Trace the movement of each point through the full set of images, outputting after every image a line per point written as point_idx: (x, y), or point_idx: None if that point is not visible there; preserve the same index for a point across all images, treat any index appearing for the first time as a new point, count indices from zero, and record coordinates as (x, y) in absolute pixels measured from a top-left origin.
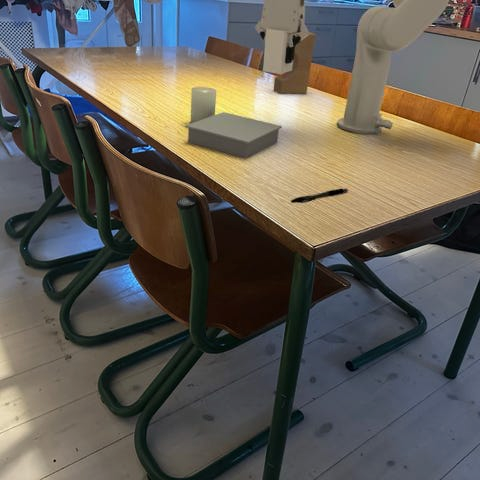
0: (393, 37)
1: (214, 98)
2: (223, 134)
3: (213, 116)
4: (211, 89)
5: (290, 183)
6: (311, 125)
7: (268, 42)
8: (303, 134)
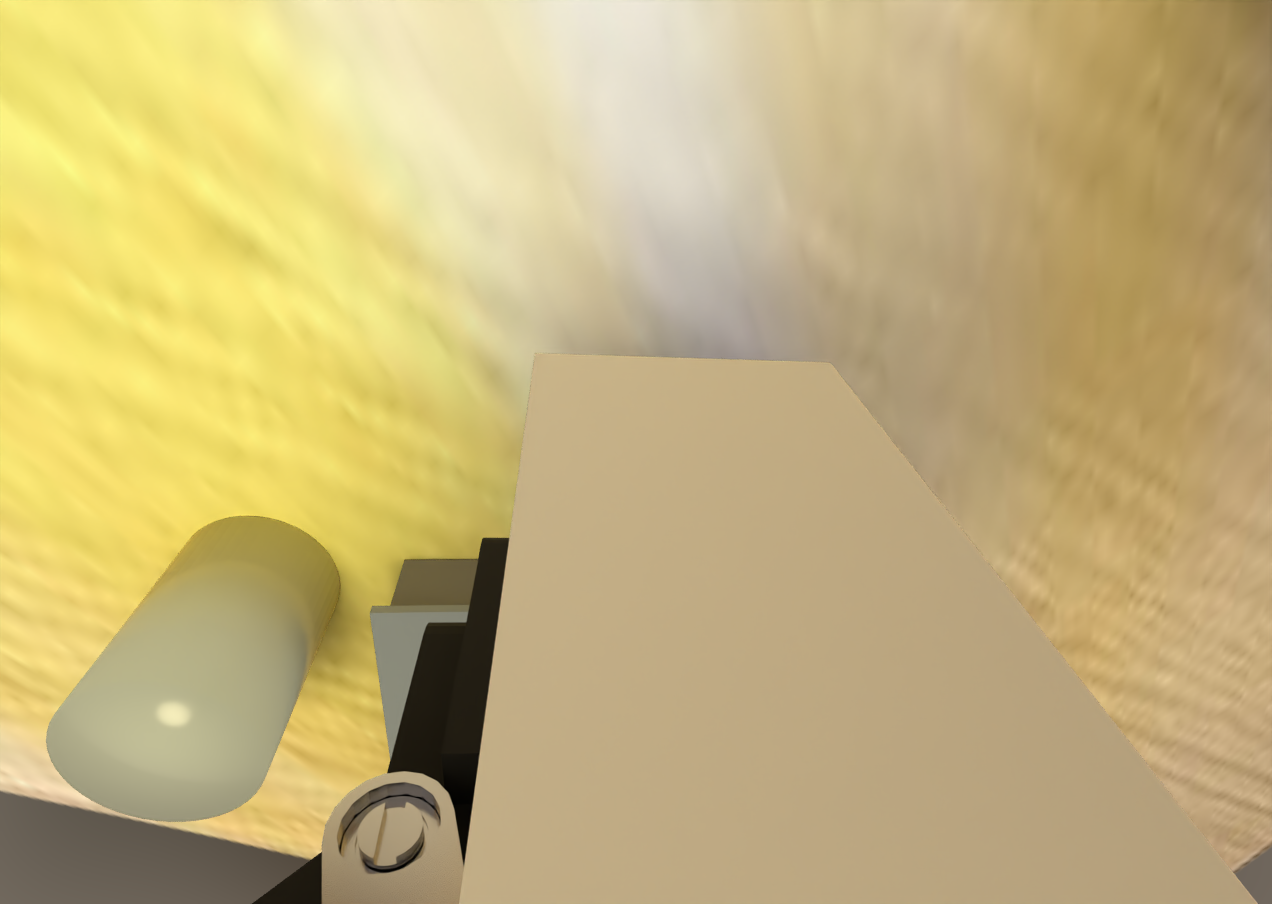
0: None
1: (281, 706)
2: None
3: (394, 717)
4: (181, 711)
5: None
6: (885, 24)
7: None
8: (874, 323)
